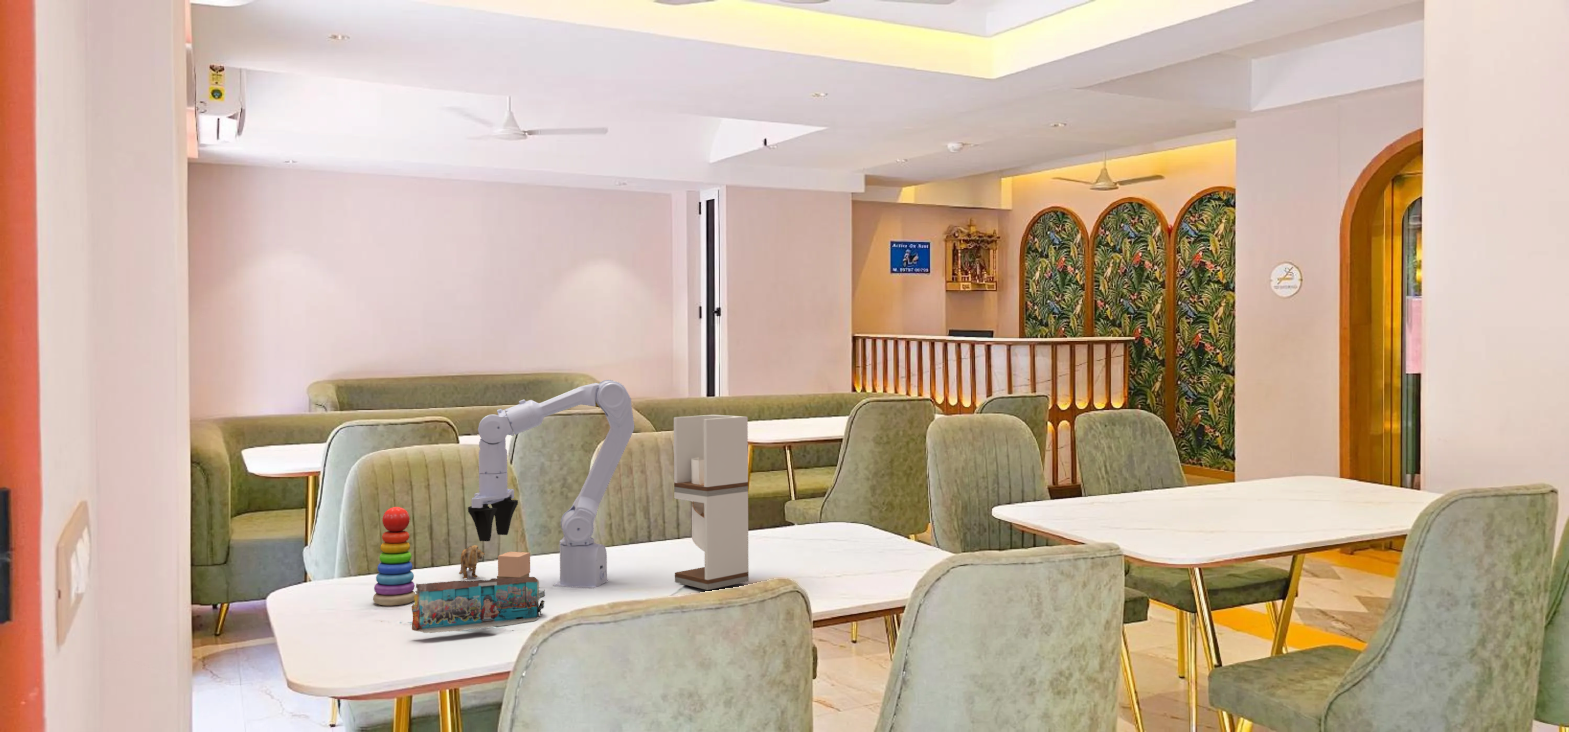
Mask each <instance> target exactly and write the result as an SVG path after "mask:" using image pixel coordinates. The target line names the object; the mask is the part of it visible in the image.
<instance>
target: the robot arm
mask: <svg viewBox="0 0 1569 732" xmlns="http://www.w3.org/2000/svg"><path fill="white" fill-rule="evenodd" d="M596 404H597V406H598V407H599V408H600V410H602V412H603V413H604V414H605V415H604V416H605V418H606V421H607V422H608V425H609V430H608V432H607V434H606V436H605V438H604V440H603V443H602V445H601V447H600V449H599V451H598V453H597V455H596V457H595V459H594V461H593V463H592V466H591V468H590V471H589V473H588V475H587V477H586V478H585V481H584V482H583V483H584V484H583V485H582V487H581V490H580V491H579V493H578V495H577V496H576V498H575V500H574V501H573V503H572V506H571V507H570V508H569V509H567V511H565V512H564V513H563V514H562V516H561V519H560V528H561V530H562V534H563V537H562V539H560V540H559V581H557V582H555V583H554V584H552V587H557V588H558V587H560V588H561V587H562V588H583V589H584V588H585V589H596V588H598V587H599V586H601V585H603V584H605V583H606V582H609V579H608V555H607V549H606V546H605V545H604V544H603V543H602V544H601V543H596V542H595V538H594V537H592V536H593V533H594V521H595V518H596V517H597V515H598V514H597V513H598V509H599V506H600V504H601V501H602V499H603V497H604V495H605V492H606V491H607V489H608V486H609V484H610V482H611V480H612V478H613V477H614V473H615V472H616V469H617V468H618V465H619V463H620V461H621V459H622V456H623V454H624V452H625V451H626V448H627V445H628V443H629V442H630V440H631V437H632V436H633V434H634V431H635V430H634V429H635V421H634V415H633V407H632V398H631V396H630V394H629V392H628V391H627V388H626V387H625V386H624V385H623V384H622V383H620V382H619V381H615V380H613V379H604V380H601V381H600V382H599V383H598V382H593V383H589V384H585V385H581V386H578V387H575V388H574V389H571V390H569V391H566V392H564V393H562V394H559V395H557V396H553V397H552V398H549V399H546V400H545V401H541V402H537V401H534V400H533V399H529V400H525V399H521V400H519V401H518V404H516V405H513V406H511V407H507V408H505V409H502V408H499V409H497V410H496V412H497V414H494V413H493V414H491V413H490V414H488V415H486V416H484V417H483V418H482V419H481V420H480V422H479V423H478V428H477V431H478V435H479V437H480V439H479V442H478V447H479V450H478V492H476V493H474V494H473V496H474V497H472V498H471V506H468V507H467V511H468V512H467V513H468V514H469V515H470V516H471V518H472V521H473V523H474V526H475V528H476V532H477V537H478V540H479V541H480V542H490V541H491V540H492V539H491V538H492V533H493V532H492V531H493V523H494V521H495V530H496V535H497V536H508V534H509V533H510V532H509V531H510V526H511V522H512V518H513V515H514V512H515V511H516V508H517V506H518V505H519V500H517V499H515V489H513V488H508V450H507V448H506V441H507V440H506V438H507V436H516V435H519V434H521V433H524V432H527V431H529V430H531V429H532V430H533V429H534V428H537V427H540V426H541V425H543V421H544V419H545V418H546V417H548V416H552V415H555V414H557V413H560V412H564V411H566V410H569V409H571V408H574V407H578V406H581V405H583V406H589V407H596ZM489 505H490V506H489ZM494 519H495V520H494Z"/></svg>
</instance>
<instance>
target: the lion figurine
mask: <svg viewBox="0 0 1569 732" xmlns="http://www.w3.org/2000/svg"><path fill="white" fill-rule="evenodd" d="M484 556H485V552H483V551H482V550H481V549H479V546H478V545H476V544H475V545H474V544H472V545H470V546H467V548H465V549H463V550H462V552H461V555H460V571H459V573H458V574H459V575H462V573H463V577H462V579H463V578H467V579H468V577H469V575H468V571H469V572H471V577H472V578H477V577H478V575H477V574H476V570H477V564H478V563H479V560H480V561H482V560H483V557H484Z"/></svg>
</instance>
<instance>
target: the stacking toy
mask: <svg viewBox="0 0 1569 732" xmlns="http://www.w3.org/2000/svg"><path fill="white" fill-rule="evenodd" d="M410 518H411V517H410V514H409V512H408V511H407V510H406V509H405V508H404V507H400V506H394V507H393V506H392V507H390V508H388V509H387V510H386V511H384V514H383V515H382V518H381V519H382V525H383V528H385V530H387V531H384V532H383V533H382V535H381V539H382V541H383V542H382V543H381V545H380V551H381V553H380V555H379V561H380V562H379V564H378V565H377V572H378V573H377V575H376V576H375V580H376V583H375V584H374V587H373V589H374V592H375V593H374V594H373V597H372V600H373V603H375V604H376V605H379V606H386V607H388V606H389V607H391V606H402V605H406V604H411V603H412V602H415V600H414V595H415V594H416V592H415V591H414V590H415V588H416V584H415V583H414V581H413V580H414V576H415V575H414V574H415V573H414V572H413V571H412V569H413V564H412V563H413V562H411V559H412V557H413V556H412V555H413V554H412V553H411V552H410V549H411V545H410V543H409V542H408V540H409V539H410V533H409V532H408V531H406V529H407V528H408V526H409V524H410V520H411V519H410Z"/></svg>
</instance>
